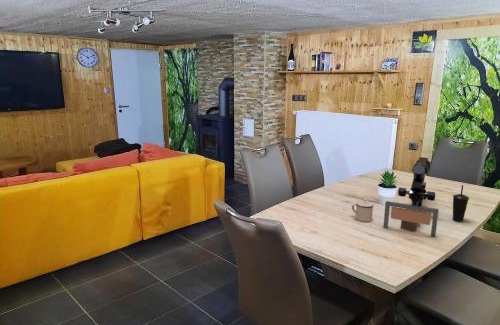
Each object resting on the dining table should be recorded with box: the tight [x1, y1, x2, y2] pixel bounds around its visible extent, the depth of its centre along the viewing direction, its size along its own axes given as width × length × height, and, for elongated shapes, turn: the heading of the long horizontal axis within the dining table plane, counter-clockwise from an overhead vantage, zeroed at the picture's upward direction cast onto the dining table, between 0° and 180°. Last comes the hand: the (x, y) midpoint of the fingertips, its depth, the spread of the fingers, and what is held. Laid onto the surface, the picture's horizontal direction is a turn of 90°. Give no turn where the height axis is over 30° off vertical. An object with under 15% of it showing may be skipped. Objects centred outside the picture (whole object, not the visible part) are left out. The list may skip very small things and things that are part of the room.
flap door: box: [390, 206, 432, 226], centre depth 175 cm, size 1×18×6 cm, turn 60°
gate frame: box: [383, 200, 439, 238], centre depth 176 cm, size 2×24×14 cm, turn 60°
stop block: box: [400, 209, 421, 233], centre depth 184 cm, size 14×7×8 cm, turn 145°
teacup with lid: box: [351, 198, 374, 223], centre depth 194 cm, size 12×9×12 cm
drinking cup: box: [452, 184, 470, 223], centre depth 189 cm, size 8×8×20 cm
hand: (414, 207), depth 193 cm, fingers closed
